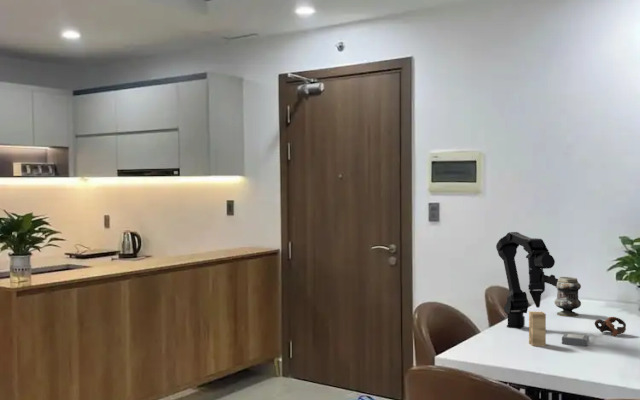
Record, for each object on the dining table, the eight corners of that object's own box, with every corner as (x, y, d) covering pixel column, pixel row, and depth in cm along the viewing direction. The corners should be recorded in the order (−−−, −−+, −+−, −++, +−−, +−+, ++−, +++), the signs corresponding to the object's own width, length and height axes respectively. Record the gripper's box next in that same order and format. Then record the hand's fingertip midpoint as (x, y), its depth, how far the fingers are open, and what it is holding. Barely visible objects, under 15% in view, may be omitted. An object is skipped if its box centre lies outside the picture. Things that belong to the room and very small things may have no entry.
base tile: (561, 343, 257) (562, 337, 257) (564, 339, 265) (564, 332, 265) (586, 346, 253) (586, 339, 253) (588, 341, 261) (588, 334, 261)
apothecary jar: (583, 313, 319) (583, 277, 318) (578, 317, 308) (578, 279, 308) (557, 311, 325) (557, 275, 325) (551, 315, 315) (551, 278, 315)
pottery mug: (619, 333, 279) (626, 318, 274) (621, 347, 271) (629, 332, 266) (590, 324, 281) (597, 310, 277) (592, 338, 273) (599, 323, 269)
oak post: (528, 342, 259) (529, 311, 258) (541, 343, 258) (541, 311, 258) (532, 345, 254) (532, 313, 253) (545, 346, 253) (545, 313, 253)
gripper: (556, 268, 260) (559, 308, 258) (556, 268, 278) (558, 305, 276) (527, 269, 264) (529, 308, 262) (528, 269, 281) (531, 305, 279)
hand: (538, 306), depth 270 cm, fingers open, 9 cm apart
